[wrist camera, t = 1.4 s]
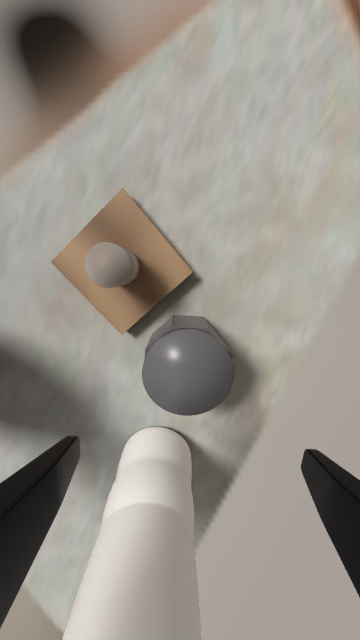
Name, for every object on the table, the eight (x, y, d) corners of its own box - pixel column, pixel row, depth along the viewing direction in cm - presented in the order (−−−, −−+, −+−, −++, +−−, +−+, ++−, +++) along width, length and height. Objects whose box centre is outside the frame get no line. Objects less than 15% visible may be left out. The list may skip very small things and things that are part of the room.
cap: (182, 392, 20) (183, 430, 15) (137, 346, 19) (123, 371, 14) (234, 352, 19) (252, 379, 14) (189, 301, 18) (193, 311, 13)
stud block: (125, 331, 19) (108, 349, 14) (59, 262, 18) (16, 259, 13) (192, 271, 18) (196, 271, 13) (126, 193, 16) (105, 163, 12)
